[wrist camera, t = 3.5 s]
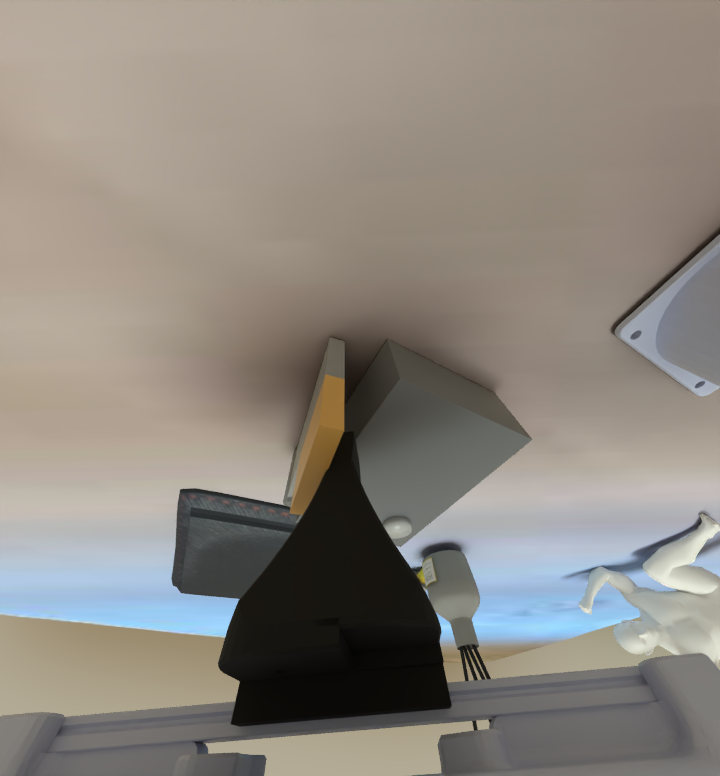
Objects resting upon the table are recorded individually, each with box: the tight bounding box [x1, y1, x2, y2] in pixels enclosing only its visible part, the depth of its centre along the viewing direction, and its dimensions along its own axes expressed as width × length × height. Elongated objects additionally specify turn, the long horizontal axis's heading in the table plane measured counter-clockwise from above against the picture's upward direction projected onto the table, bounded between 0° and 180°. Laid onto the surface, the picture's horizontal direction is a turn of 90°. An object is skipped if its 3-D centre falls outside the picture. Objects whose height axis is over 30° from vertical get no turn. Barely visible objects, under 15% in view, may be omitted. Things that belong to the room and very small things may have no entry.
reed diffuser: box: [413, 550, 492, 731], centre depth 21 cm, size 10×7×20 cm
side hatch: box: [283, 337, 345, 515], centre depth 13 cm, size 1×10×7 cm, turn 161°
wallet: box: [172, 489, 297, 599], centre depth 27 cm, size 20×2×15 cm
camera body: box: [295, 339, 532, 547], centre depth 17 cm, size 8×13×4 cm, turn 152°
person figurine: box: [578, 513, 720, 668], centre depth 28 cm, size 13×13×18 cm
